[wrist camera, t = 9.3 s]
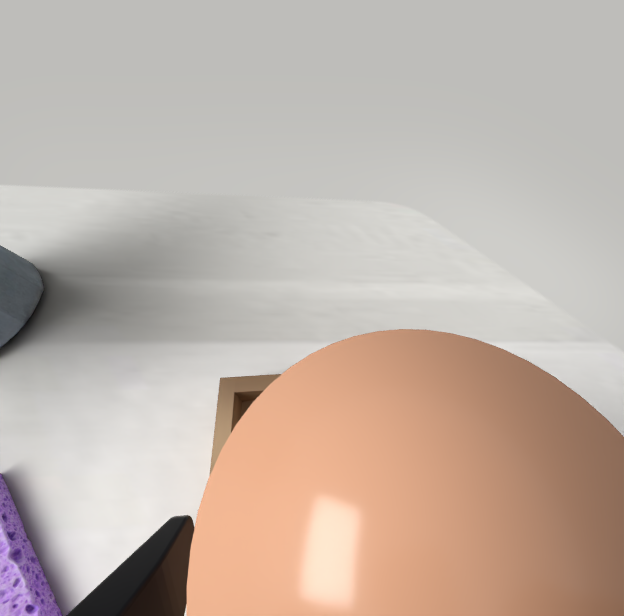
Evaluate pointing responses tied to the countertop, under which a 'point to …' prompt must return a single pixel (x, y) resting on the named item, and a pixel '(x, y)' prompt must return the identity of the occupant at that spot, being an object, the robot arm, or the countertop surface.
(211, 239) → the countertop surface
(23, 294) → the moka pot
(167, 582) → the robot arm
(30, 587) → the sponges
